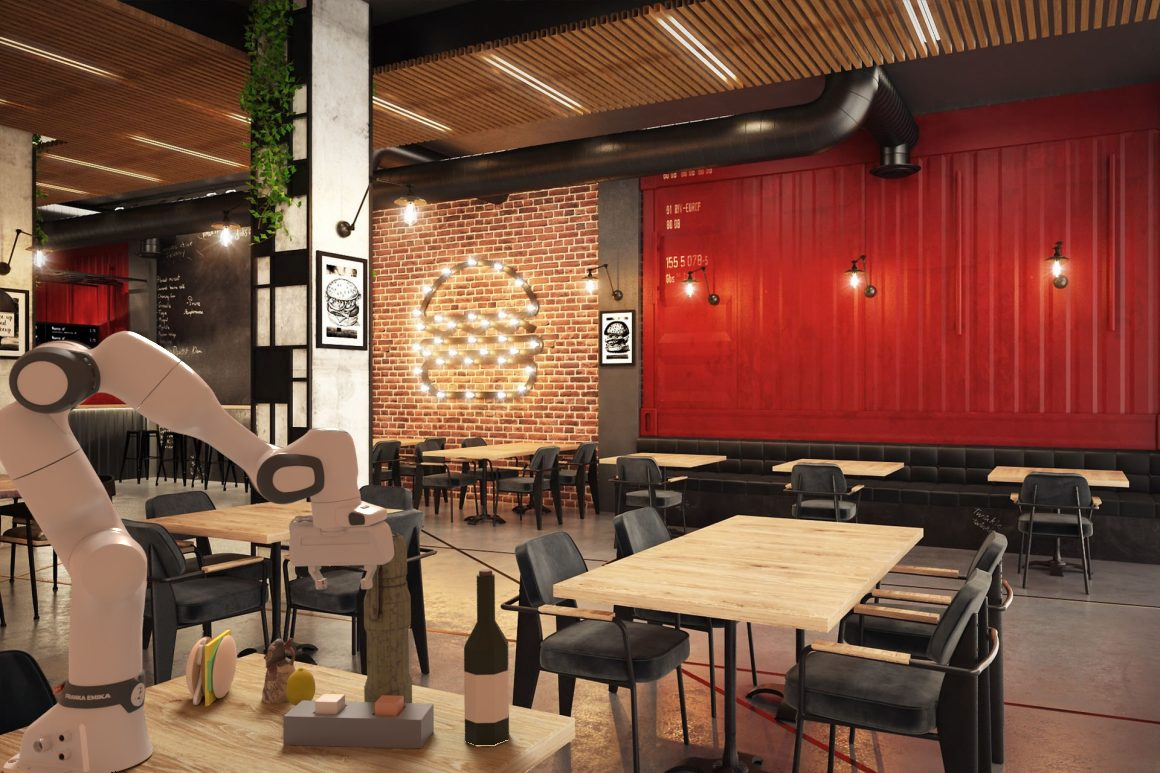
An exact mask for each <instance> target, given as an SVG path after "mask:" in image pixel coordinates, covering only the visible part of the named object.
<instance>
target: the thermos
mask: <svg viewBox="0 0 1160 773" xmlns="http://www.w3.org/2000/svg"><path fill="white" fill-rule="evenodd" d="M391 533H392V538H393V545H394V556H393V558H392V560H391V561H390V562H388V563H386V564H383V565H377V569H376V571H375V573H374V576H373V577H372V583H373V586H372V588H370V589H366V592H365V595H364V598H363V627H364V631H365V632H366V680H365V684H364V686H363V688H364V689H363V691H364V692H363V693H364V694H363V695H364V696H363V698H364V699H363V700H364V701H363V702H376V701H377V700H378V699H379V698H380V697H381V696H382V695H390V696H404V703H413V681H412V677H411V674H410V652H409V651H410V649H409V648H410V646H409V645H410V641H409V637H410V636H409V634H410V633H409V629H410V627H411V625H412V611H411V610H412V608H411V606H412V605H411V602H412V601H411V593H410V591H409V587H408V581H407V575H408V548H407V545H406V542H405V540H404V536H403V535H401V534H400V533H398V532H391Z"/></svg>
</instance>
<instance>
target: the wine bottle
mask: <svg viewBox="0 0 1160 773" xmlns="http://www.w3.org/2000/svg"><path fill="white" fill-rule="evenodd" d="M495 576H496V574H495V573H493V569H492V568H481V569H479V570H478V573H477V574H476V623H475V625H474V627H473V628H472V630H471V632H470V634H469V636H468V638H467V639H466V641H465V644H464V646H463V661H464V662H463V676H464V677H463V679H464V680H463V682H464V683H463V684H464V685H463V686H464V691H463V694H464V742H465V741H466V742H469V743H472V744H474V745H495V744H497V743H500V742H503V741H505V740H508V739H510V687H509V685H510V680H509V679H510V678H509V676H510V675H509V674H510V673H509V671H510V670H509V663H510V661H509V640H508V639H507V637H506V636H505V634H504V632H503V630H502V629H501V627H500V626H499V624H498V623H497V621H496V587H495V586H496V581H495V580H496V578H495Z"/></svg>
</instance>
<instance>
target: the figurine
mask: <svg viewBox="0 0 1160 773" xmlns="http://www.w3.org/2000/svg"><path fill="white" fill-rule="evenodd" d="M294 641H295V640H294V638H292V637H289V638H288V640H287V641H284V640H283V639H282V638H277V639H275V640H274V641H273V642H272V643H271V644H270V645H269V647H268V649H267V652H266V654H265V655H264V657H263V659H264V660H265V668H266V673H265V677H264V685H263V689H262V692H261V693H262V695H261V701H263V702H264V703H266V704H282V703H287V702H289V700H288V698H287V695H286V686H287V681H288V678H289V677H290V675H291V674H292V673H293V672H295V671H296V667H295V664H294V663H295V660H296V653H295V649H294V648H293V647H292V644H294ZM287 654H290V655H291V659H290V658H288V657H287Z"/></svg>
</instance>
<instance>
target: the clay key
mask: <svg viewBox="0 0 1160 773" xmlns="http://www.w3.org/2000/svg"><path fill="white" fill-rule="evenodd" d="M403 710H404V696H390V695H382V696H381V697H380V698H379V699H378V700H377V701H376V702H375V715H386V716H399V714H400V713H401V712H402V711H403Z"/></svg>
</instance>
